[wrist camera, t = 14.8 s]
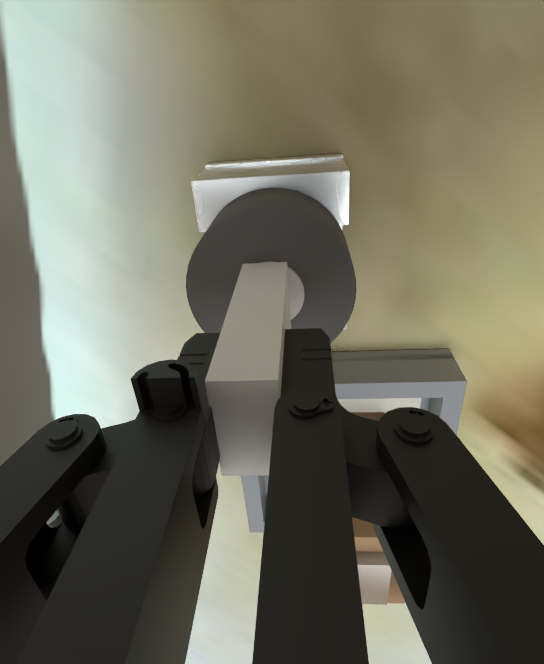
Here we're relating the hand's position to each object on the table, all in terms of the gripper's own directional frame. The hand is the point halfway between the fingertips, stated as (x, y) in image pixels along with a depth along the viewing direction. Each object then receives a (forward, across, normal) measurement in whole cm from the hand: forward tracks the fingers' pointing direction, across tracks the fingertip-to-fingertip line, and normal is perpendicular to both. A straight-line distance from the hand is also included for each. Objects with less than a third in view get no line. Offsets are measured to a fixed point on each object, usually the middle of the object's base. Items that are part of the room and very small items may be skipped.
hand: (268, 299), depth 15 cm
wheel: (+6, 0, 0) cm, 6 cm away
